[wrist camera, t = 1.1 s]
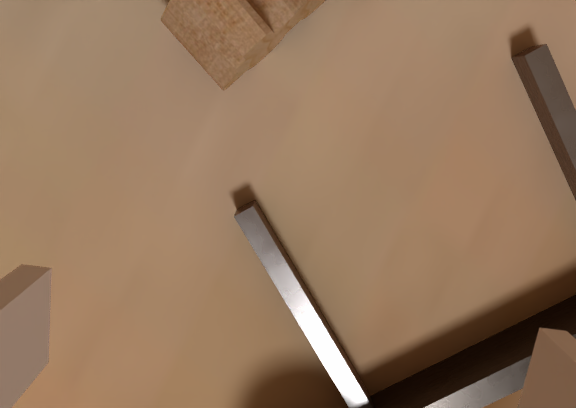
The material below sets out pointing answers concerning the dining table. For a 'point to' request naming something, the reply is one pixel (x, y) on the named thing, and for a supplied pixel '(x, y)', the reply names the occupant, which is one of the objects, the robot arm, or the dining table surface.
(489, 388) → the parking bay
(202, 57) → the carved wooden block
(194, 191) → the dining table surface
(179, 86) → the dining table surface
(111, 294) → the dining table surface
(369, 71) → the dining table surface
